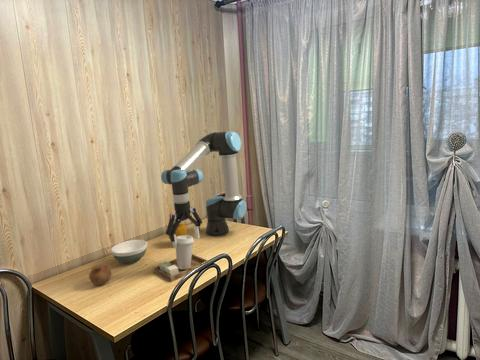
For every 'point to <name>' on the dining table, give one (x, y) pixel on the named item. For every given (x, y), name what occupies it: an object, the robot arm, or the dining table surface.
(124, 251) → the bowl
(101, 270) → the onion
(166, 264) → the sage block
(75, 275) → the dining table surface
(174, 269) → the cream block
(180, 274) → the tray
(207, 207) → the robot arm
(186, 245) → the coffee cup
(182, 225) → the amber vase
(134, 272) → the dining table surface
